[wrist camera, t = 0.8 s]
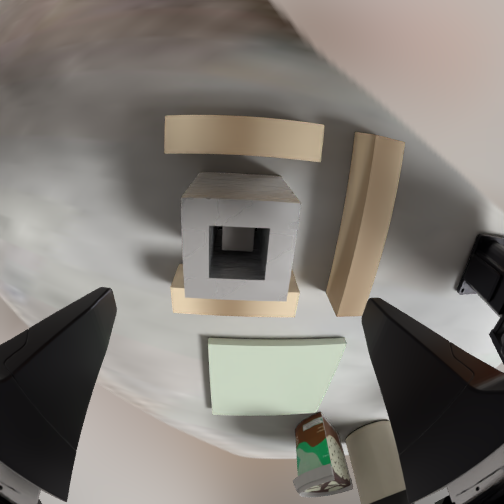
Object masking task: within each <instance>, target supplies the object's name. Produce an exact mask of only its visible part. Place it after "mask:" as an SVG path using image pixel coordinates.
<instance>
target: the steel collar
mask: <svg viewBox="0 0 504 504" xmlns="http://www.w3.org/2000/svg"><path fill="white" fill-rule="evenodd" d="M300 209H301V203H300V201H299V200H298V198H297V197H296V196H295V194H294V193H293V192H292V190H291V189H290V187H289V186H288V185H287V183H286V182H285V181H284V179H283V178H282V177H281V176H272V175H258V174H241V173H218V172H200V173H199V174H198V175H197V177H196V178H195V179H194V181H193V182H192V183H191V185H190V186H189V187H188V189H187V190H186V191H185V193H184V194H183V195H182V197H181V232H182V257H183V275H184V290H185V298H201V299H221V300H246V301H287V295H288V289H289V283H290V277H291V271H292V264H293V258H294V251H295V245H296V238H297V231H298V224H299V217H300ZM218 226H230V227H251V228H257V231H254V243H253V251H233V250H222V234H223V230H218Z"/></svg>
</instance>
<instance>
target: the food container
mask: <svg viewBox="0 0 504 504" xmlns="http://www.w3.org/2000/svg"><path fill="white" fill-rule="evenodd" d="M295 436H296V452H297V469H298V477H296V478H295V479H294V480H293V483H294V485H295V488H296V491H297V492H299V494H300V496H302V497H321V496H328V495H333V494H337V493H342V492H345V491H349V490H352V489H353V485H352V480H351V478H350V475H349V471H348V467H347V463H346V459H345V455H344V452H343V448H342V444H341V441H340V437H339V434H338V432H337V431H336V430H335V429H334V427H333V426H332V425H331V424H330V422H329V421H328V420H327V419H326V418H325V416H324V415H323V414H322V413H321V412H319V413H317V414H314V415H312V416H310V417H308V418H307V419H305V420H303V421H302V422H301V423H300V424H298V425H297V427H296V429H295Z"/></svg>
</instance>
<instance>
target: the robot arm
mask: <svg viewBox="0 0 504 504" xmlns="http://www.w3.org/2000/svg"><path fill="white" fill-rule="evenodd" d="M457 292H458V293H459V294H460V295H463V294H476V293H477V294H478V295H479V296H480V297H481V298H482V299H483V300H484V301H485V302H486V303H487V304H488V305H489V306H490V308H491V309H492V310H493V311H494V312H495V313H496V314H497V315H498V316H499V317H500V319H499V321H498V322H497V324H496V326H495V327H494V329H492V330H491V332H490V334H489V335H490V337H491V339H492V342H493V344H494V346H495V348H496V350H497V352H498V354H499V356H500V358H501V360H502V362H503V364H504V237H498V236H493V235H487V234H479V235H478V236H477V238H476V241H475V244H474V247H473V250H472V253H471V256H470V259H469V261H468V264H467V267H466V269H465V272H464V274H463V277H462V279H461V282H460V284H459V287H458V289H457ZM116 312H117V307H116V303H115V299H114V295H113V291H112V289H111V288H106V287H100V288H98V289H96V290H94V291H93V292H91V293H89V294H87V295H86V296H84V297H82V298H80V299H78V300H77V301H75V302H73V303H71V304H70V305H68V306H66V307H64V308H63V309H61V310H59V311H57V312H56V313H54V314H52V315H51V316H49V317H47V318H45V319H44V320H42V321H40V322H39V323H37V324H35V325H34V326H32V327H30V328H29V330H28V329H27V330H25V331H24V332H22V333H20V334H19V335H17V336H15V337H14V338H12V339H11V340H8V341H7V342H5V343H3V344H1V345H0V504H42V503H41V501H40V500H39V495H40V491H41V490H42V491H44V492H46V493H48V494H50V495H52V496H54V497H56V498H58V499H60V500H62V501H65V502H67V499H68V493H69V486H70V481H71V475H72V470H73V465H74V461H75V456H76V450H77V446H78V442H79V438H80V434H81V430H82V426H83V423H84V419H85V415H86V412H87V408H88V405H89V402H90V398H91V395H92V392H93V389H94V385H95V383H96V379H97V376H98V373H99V371H100V368H101V365H102V362H103V359H104V356H105V353H106V350H107V347H108V344H109V340H110V336H111V332H112V328H113V324H114V320H115V317H116ZM362 325H363V329H364V334H365V338H366V342H367V347H368V351H369V355H370V358H371V362H372V365H373V368H374V371H375V374H376V377H377V380H378V383H379V386H380V390H381V393H382V396H383V399H384V403H385V406H386V410H387V413H388V417H389V420H390V424H391V427H392V431H393V435H394V439H395V443H396V447H397V451H398V454H399V460H400V464H401V468H402V473H403V478H404V482H405V487H406V492H407V498H408V502H409V504H412V503H414V502H417V501H419V500H421V499H423V498H425V497H427V496H429V495H431V494H434V493H435V492H438V491H440V490H442V489H443V488H445V487H447V489H448V492H449V496H447V497H445V498H443V499H441V500H439V501H437V502H436V503H435V504H504V373H503V372H501V371H499V370H497V369H495V368H494V367H492V366H490V365H488V364H486V363H485V362H483V361H481V360H479V359H477V358H476V357H474V356H472V355H470V354H469V353H467V352H465V351H464V350H462V349H461V348H459V347H457V346H456V345H454V344H453V343H451V342H450V343H449V341H448V340H446V339H445V338H443V337H442V336H440V335H439V334H437V333H435V332H434V331H432V330H431V329H429V328H428V327H426V326H424V325H423V324H421V323H420V322H418V321H416V320H415V319H413V318H412V317H410V316H408V315H407V314H405V313H403V312H402V311H400V310H399V309H397V308H395V307H394V306H392V305H390V304H389V303H387V302H386V301H384V300H382V299H381V298H370V299H368V301H367V303H366V306H365V309H364V312H363V315H362Z"/></svg>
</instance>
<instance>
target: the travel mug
mask: <svg viewBox="0 0 504 504" xmlns="http://www.w3.org/2000/svg"><path fill="white" fill-rule="evenodd" d="M346 445H347V448H348V452H349V456H350V460H351V464H352V468H353V472H354V476H355V479H356V484H357V488H358V492H359V496H360V501H361V504H409V502H408V498H407V492H406V487H405V482H404V478H403V473H402V468H401V464H400V460H399V454H398V451H397V447H396V443H395V439H394V435H393V431H392V427H391V424H390V421H378V422H374V423H371V424H368V425H365V426H363V427H361V428H359V429H357V430H356V431H354V432H353V433H352V434H351V435H349V436H348V437H347V439H346ZM414 503H415V502H414ZM414 503H412V504H414Z"/></svg>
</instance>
